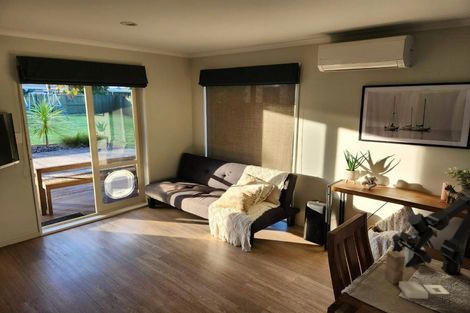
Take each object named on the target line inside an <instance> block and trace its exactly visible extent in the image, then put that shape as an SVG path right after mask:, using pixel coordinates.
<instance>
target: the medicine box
mask: <svg viewBox="0 0 470 313" xmlns="http://www.w3.org/2000/svg"><path fill="white" fill-rule="evenodd" d="M408 247H409V246H408ZM421 249H422V250H424V251H425V252H426V249H425V248H424V246H423V247H422V248H421ZM413 250H414V249H413ZM403 255H404V256H405V261H404V263H406V264H407V263H408V262H409V261H410V260H411V258H412V257H413V255H414V252H413V251H411V250H410V249H408V248H406V247H404V254H403ZM419 265H422V266H423V265H424V263H422V264H419Z"/></svg>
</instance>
